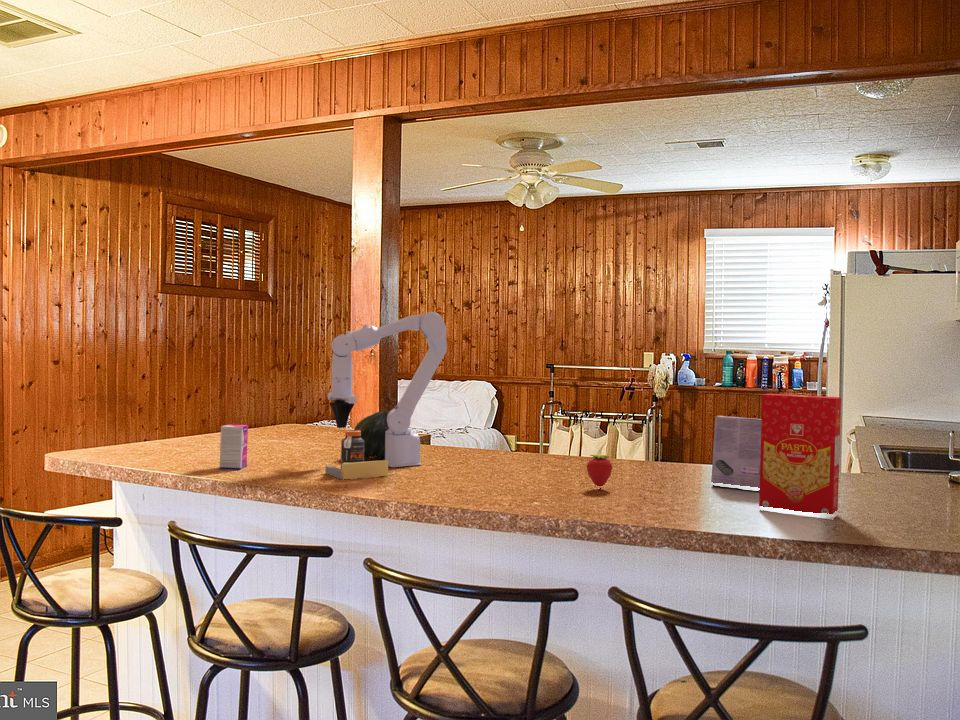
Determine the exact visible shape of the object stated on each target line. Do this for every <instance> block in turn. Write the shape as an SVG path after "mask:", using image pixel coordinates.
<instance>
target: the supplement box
mask: <svg viewBox="0 0 960 720" xmlns="http://www.w3.org/2000/svg"><path fill="white" fill-rule="evenodd" d="M248 433H249V425H248V424H230V423H227V424H225V425H221V426H220V445H219V446H220V448H219V449H220V450H219V470H223V471H227V470H231V471H239V470H242V469H244V468H246V467H247V466H248V465H247V464H248V438H249V437H248V435H249V434H248Z"/></svg>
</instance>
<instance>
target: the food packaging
mask: <svg viewBox="0 0 960 720" xmlns="http://www.w3.org/2000/svg"><path fill="white" fill-rule="evenodd" d="M761 395H762V396H761V418H760V419H761V455H760V490H759V492H758V493H759V496H758V497H759V499H758V507H759V506H763V507H773V508H783V509H789V510H794V511H802V512H813V513H827V514H828V513H829V514H833V513H834V512H835V511H837V510H838V511H839V483H840V482H839V479H840V478H839V477H840V476H839V475H840V445H841V420H842V419H841V418H842V417H841V415H842V412H841V410H842V396H824V395H823V396H822V395H807V394H805V395H804V394H786V393H764V394H761Z"/></svg>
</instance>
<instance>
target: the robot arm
mask: <svg viewBox="0 0 960 720" xmlns="http://www.w3.org/2000/svg"><path fill="white" fill-rule="evenodd" d="M406 331H416V332H418V331H421V332H422V334H423V336H424V337H425V339H426V342H427V345H428V350H427V352H426V353H425V356H424V357H423V359H422V360H421V363H420V364H419V366H418V368H417V369H416V371H415V373H414V375H413V377H412V379H411V380H410V382H409V384H408V385H407V387H406V389H405V390H404V393H403V395H402V397H401V398H400V399H399V401H398V403H397V404H396V405H395V407H394V408H392V409H391V410H389V411H388V412H389V413H388V415H387V423H388V427H389V429H388V430H387V431H385V459H384V460H388V468H389V467H390V468H398V467H413V466H421V465H422V462H421V439H420V436H419V434H418V433H416V432H412V430H410V429H409V428H410V426H411V421H412V419H411V418H412V416H413V414H414V413H415V409H416V407H417V404H418V403H419V401H420V399H421V397H422V396H423V394H424V393H425V390H426V388H427V387H428V385H429V384H430V382H431V380H432V378H433V376H434V374H435V373H436V371H437V369H438V367H439V365H440V364H441V362H442V360H443V359H444V357H445V355H446V354H447V351H448V340H447V326H446V323H445V322H444V318H443V317H442V316H441V315H440V314H439V313H437V312H436V311H428V312H425V313H424V314H423V313H420V314H415V315H409V316H406V317H403V318H399V319H398V320H395V321H393V322H390V323H386V324H384V325H382V326H379V327H376V326H374V325H372V324H370V325H368V324H364V325H362V327H361V328H359V329H354V330H352V331H350V330H348V331H345V334H339V335H337V336H335V338H334V339H333V340H332V343H331V350H332V352H333V353H332V355H331V359H332V362H331V392H327V395H326V396H327V400H329V401H330V400H331V401H332V402H329V406H330V408H331V410H332V413H333V415H334V419H335V423H336V424H335V425H336V428H338V429H346V428H347V425H348V420H349V417H350V413H351V411H352V410H353V408H354V406H355V404H357V399H358V398H357V396H356V395H354V394H353V376H354V375H353V374H354V373H353V372H354V371H353V370H354V363H353V361H352V360H353V353H352V352H354V351H355V352H360V351H363V350H366V349H369V348H371V347H375V346H377V345H379V344H380V342H381V339H382V338H386V337H388V336H391V335H395V334H399V333H401V332H406ZM333 401H334V402H333Z"/></svg>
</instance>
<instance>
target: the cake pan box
mask: <svg viewBox="0 0 960 720" xmlns="http://www.w3.org/2000/svg"><path fill="white" fill-rule="evenodd" d="M761 419H762V418H755V417H753V418H752V417H750V418H748V417H738V416H729V415H727V416H726V415H725V416H724V415H716V416H715V420H714V421H715V423H714V437H713V448H712V450H713V451H712V465H711V478H710V479H711V480H710V483H711V482H713V483H723V484H731V485H740V486H750V487H758V488H760V455H761Z"/></svg>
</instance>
